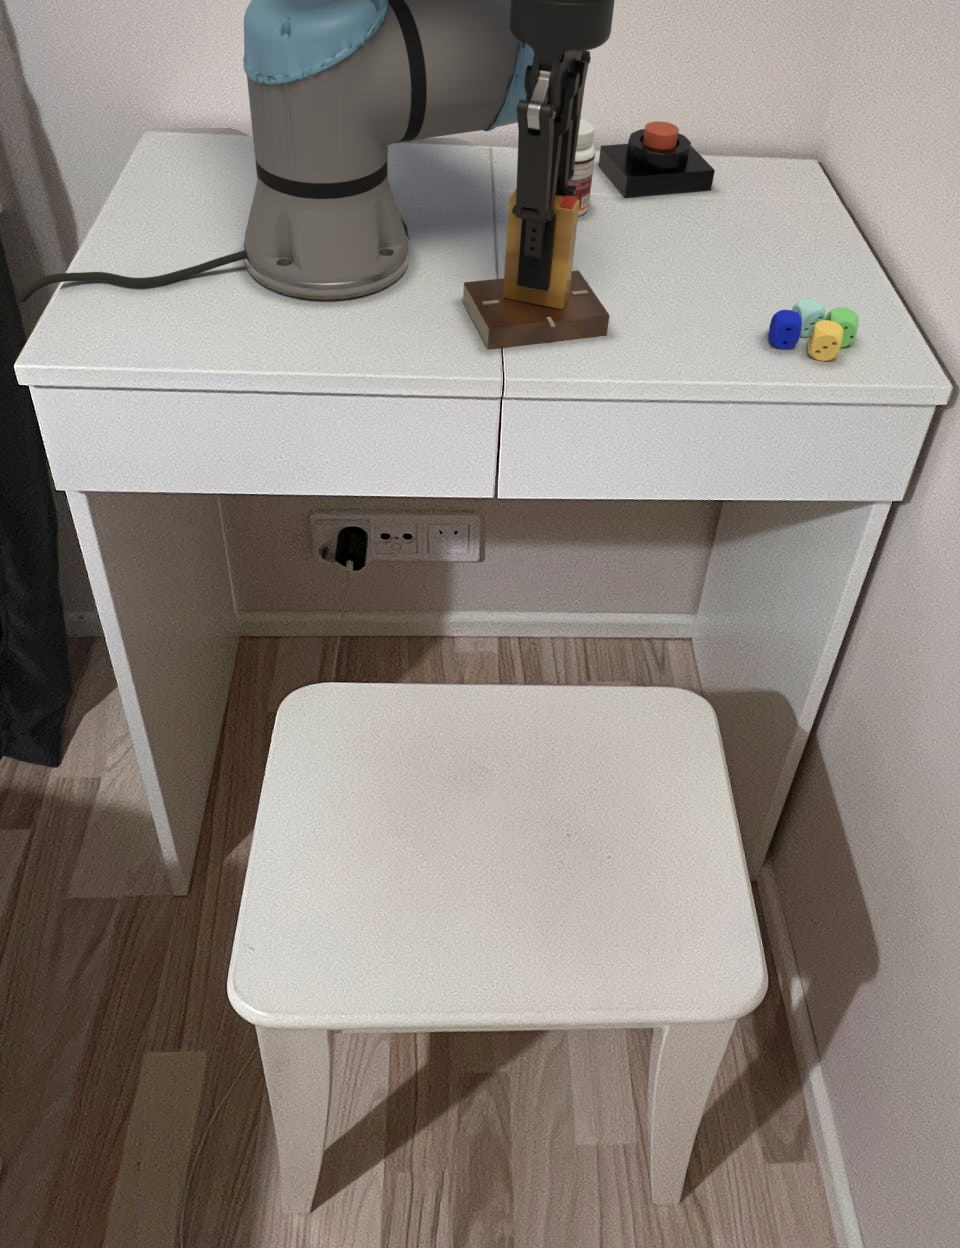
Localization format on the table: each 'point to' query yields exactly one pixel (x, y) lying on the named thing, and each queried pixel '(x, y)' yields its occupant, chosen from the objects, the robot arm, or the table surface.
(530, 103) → the robot arm
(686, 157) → the button box
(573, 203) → the thumb turn
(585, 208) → the pill bottle
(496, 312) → the lock plate
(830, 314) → the dice
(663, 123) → the bell button
